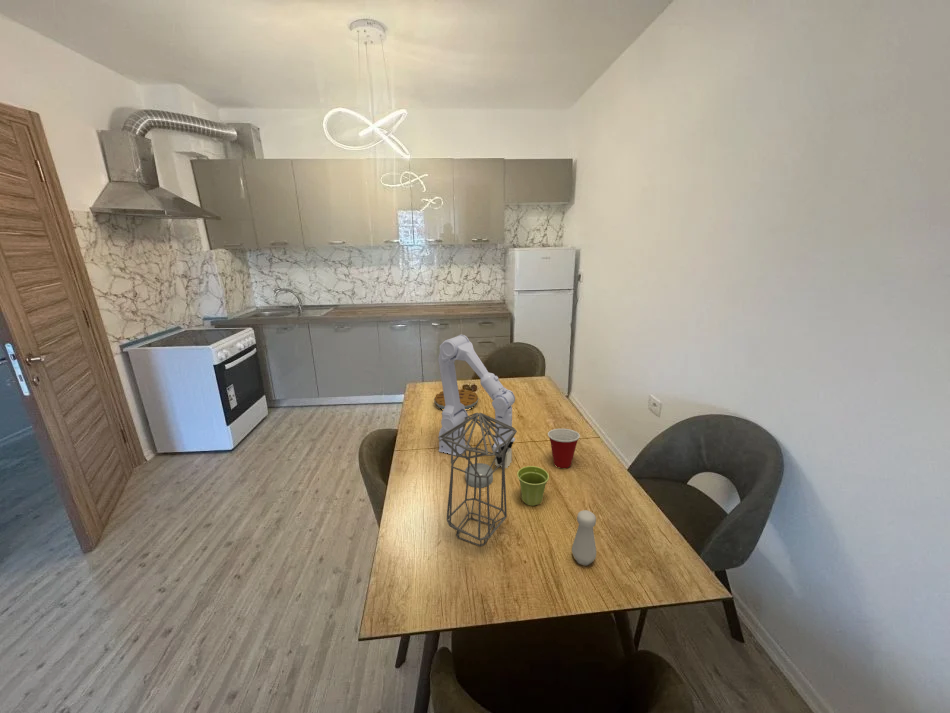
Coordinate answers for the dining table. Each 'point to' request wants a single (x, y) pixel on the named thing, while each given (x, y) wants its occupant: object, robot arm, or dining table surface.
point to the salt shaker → (585, 538)
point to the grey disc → (481, 470)
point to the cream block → (506, 458)
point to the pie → (465, 397)
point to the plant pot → (532, 484)
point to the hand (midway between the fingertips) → (503, 460)
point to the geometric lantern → (486, 421)
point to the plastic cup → (563, 446)
